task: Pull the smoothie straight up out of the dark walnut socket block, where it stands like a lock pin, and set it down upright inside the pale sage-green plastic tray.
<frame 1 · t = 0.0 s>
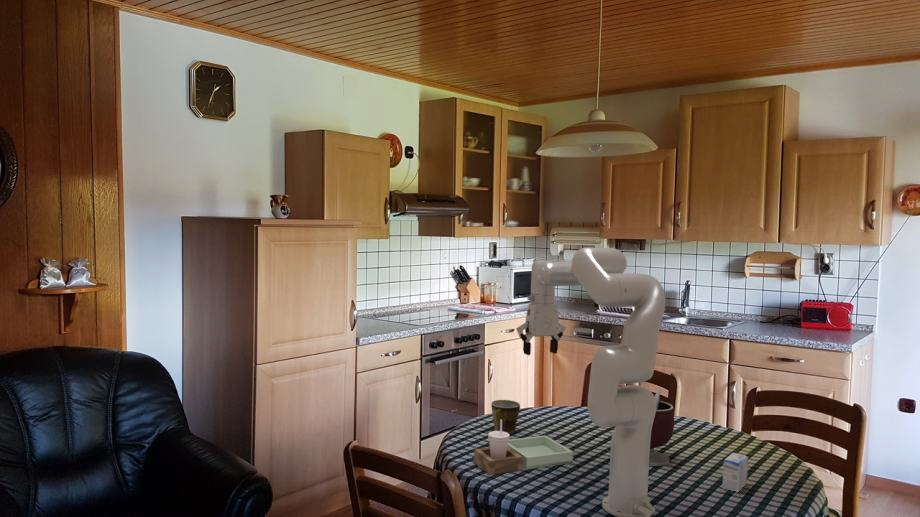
hand: (540, 353, 204), 31 cm above the table, fingers open, 9 cm apart
ceramic cup: (503, 433, 222), on the table
mate gourd: (649, 458, 202), on the table
smoothie: (497, 467, 191), resting in socket block
medicine box: (734, 488, 181), on the table
socket block: (497, 466, 191), on the table
tray: (536, 457, 200), on the table
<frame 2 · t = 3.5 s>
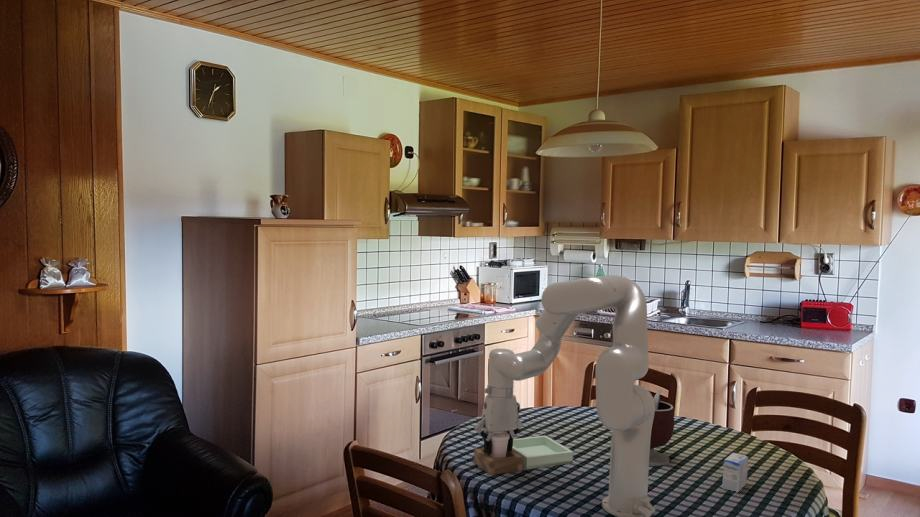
hand: (498, 450, 191), 5 cm above the table, fingers closed on smoothie, 6 cm apart
smoothie: (497, 467, 191), resting in socket block, touching gripper
everything else where it was.
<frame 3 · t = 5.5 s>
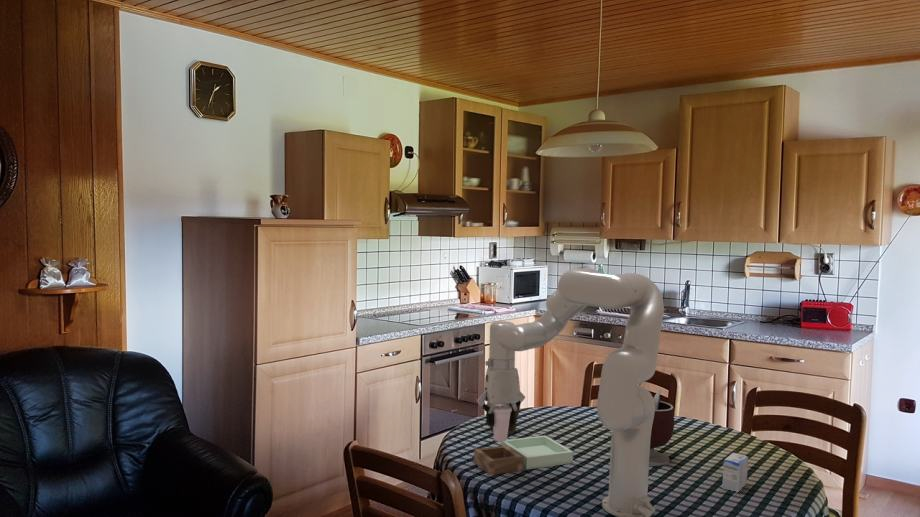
hand: (500, 424, 190), 13 cm above the table, fingers closed on smoothie, 6 cm apart
smoothie: (500, 440, 190), point 8 cm above the table, touching gripper
everything else where it was.
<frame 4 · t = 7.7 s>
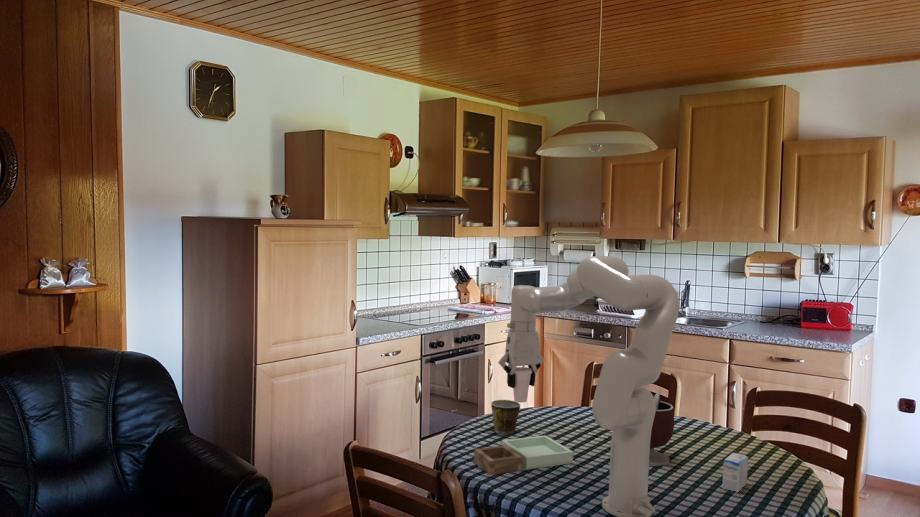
hand: (521, 385, 194), 23 cm above the table, fingers closed on smoothie, 6 cm apart
smoothie: (520, 401, 194), point 18 cm above the table, touching gripper
everything else where it was.
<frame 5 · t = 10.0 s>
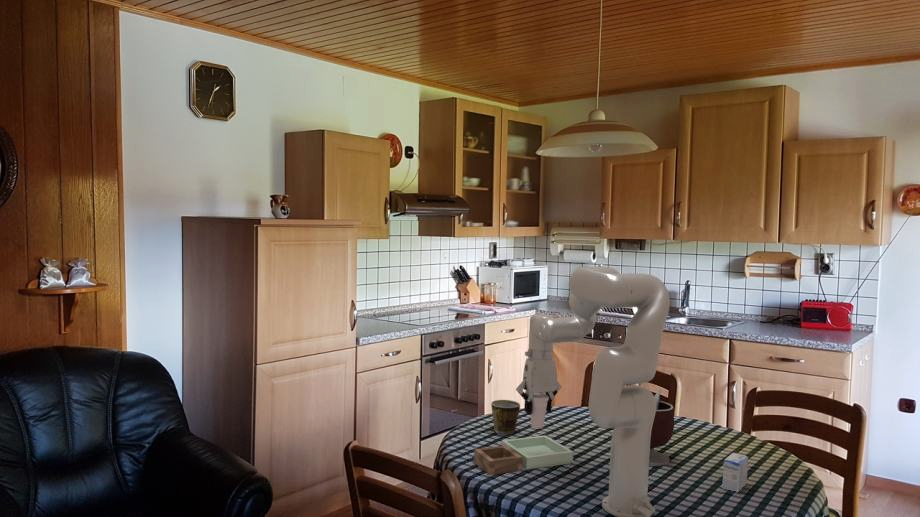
hand: (538, 411, 199), 14 cm above the table, fingers closed on smoothie, 6 cm apart
smoothie: (537, 427, 199), point 9 cm above the table, touching gripper
everything else where it was.
when the fingers open (7 cm above the table, at t = 11.9 s): smoothie drops 1 cm, resting on tray.
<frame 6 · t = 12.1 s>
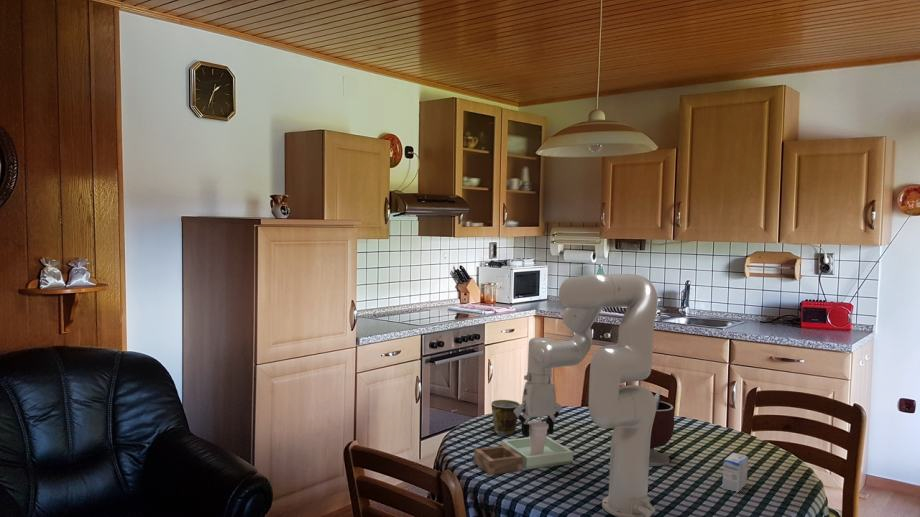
hand: (537, 434, 199), 7 cm above the table, fingers open, 8 cm apart
smoothie: (536, 455, 199), point 1 cm above the table, touching tray
everything else where it was.
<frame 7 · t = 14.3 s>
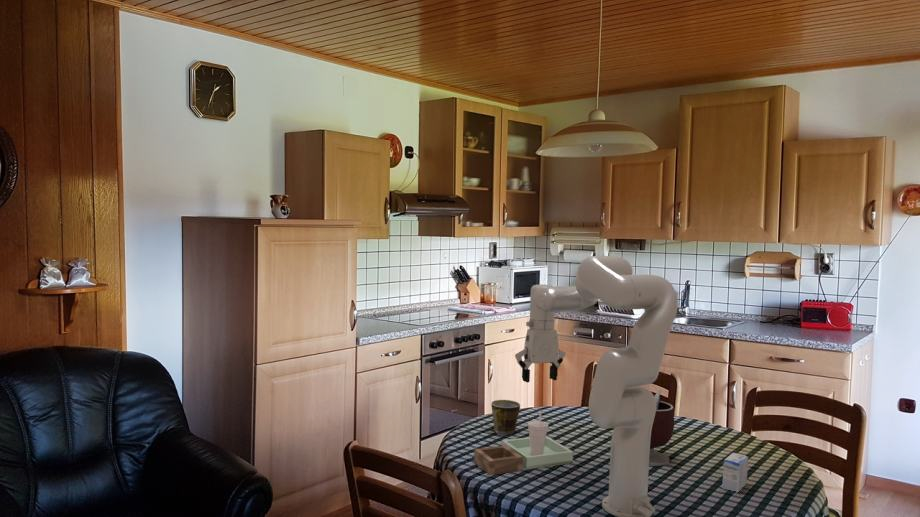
hand: (539, 380, 198), 24 cm above the table, fingers open, 9 cm apart
nothing on the table moved.
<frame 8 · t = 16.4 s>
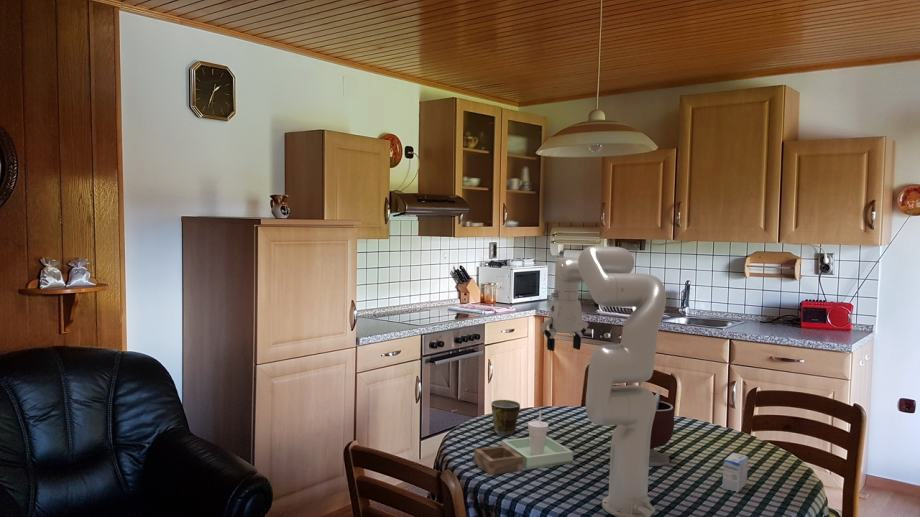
hand: (563, 349, 206), 32 cm above the table, fingers open, 9 cm apart
nothing on the table moved.
at the end: smoothie inside the target area on the tray (0.2 cm from its centre), point 0.6 cm above the tray's base; smoothie tilted 0°; the gripper is holding nothing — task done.
